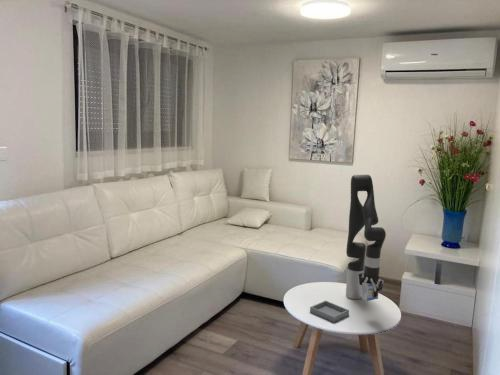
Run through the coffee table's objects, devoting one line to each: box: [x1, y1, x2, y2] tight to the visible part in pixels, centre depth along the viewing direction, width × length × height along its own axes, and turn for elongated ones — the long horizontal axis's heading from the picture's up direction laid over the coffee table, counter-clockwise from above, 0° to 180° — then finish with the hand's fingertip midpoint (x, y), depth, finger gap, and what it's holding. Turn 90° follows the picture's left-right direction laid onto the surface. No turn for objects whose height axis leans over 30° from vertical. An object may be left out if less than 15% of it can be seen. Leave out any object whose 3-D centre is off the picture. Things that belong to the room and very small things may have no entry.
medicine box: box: [360, 282, 380, 302], centre depth 211 cm, size 8×4×9 cm, turn 115°
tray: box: [309, 300, 350, 324], centre depth 216 cm, size 14×16×3 cm
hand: (369, 295), depth 212 cm, fingers closed on medicine box, 5 cm apart
